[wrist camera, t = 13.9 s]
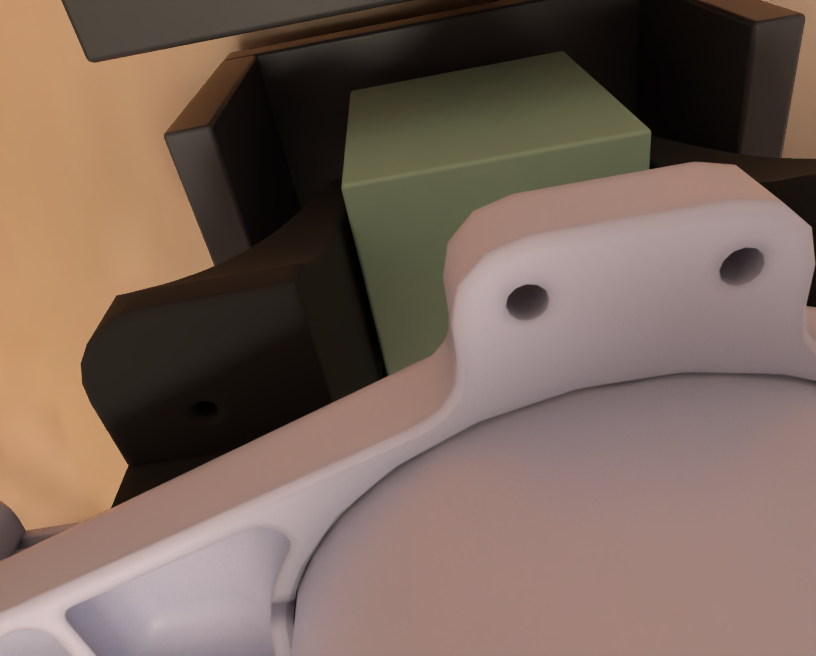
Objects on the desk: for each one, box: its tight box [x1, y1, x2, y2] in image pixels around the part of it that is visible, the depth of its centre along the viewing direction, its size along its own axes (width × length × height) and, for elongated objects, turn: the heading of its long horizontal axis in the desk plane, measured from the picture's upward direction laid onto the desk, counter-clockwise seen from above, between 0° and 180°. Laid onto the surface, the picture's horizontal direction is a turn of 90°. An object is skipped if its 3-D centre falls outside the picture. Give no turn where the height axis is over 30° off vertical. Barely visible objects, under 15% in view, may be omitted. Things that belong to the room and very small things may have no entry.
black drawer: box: [62, 0, 805, 379], centre depth 13 cm, size 17×11×6 cm, turn 10°
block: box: [341, 51, 651, 376], centre depth 12 cm, size 4×4×5 cm
